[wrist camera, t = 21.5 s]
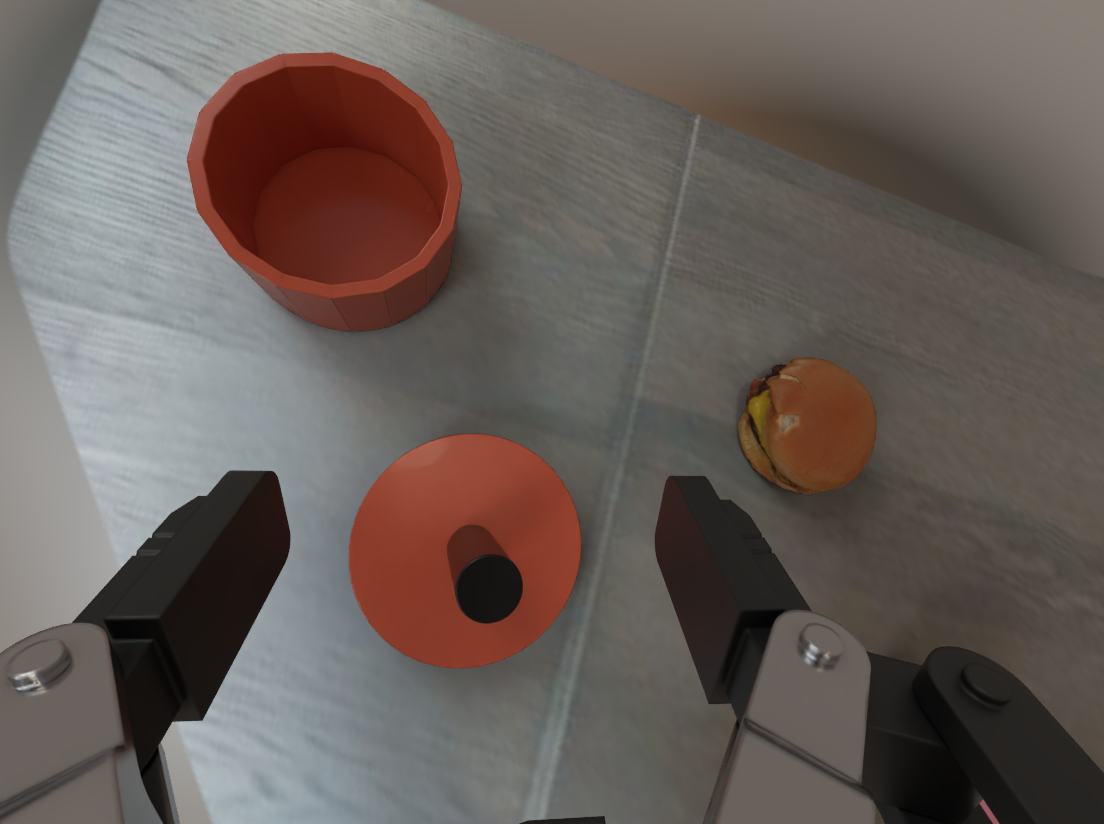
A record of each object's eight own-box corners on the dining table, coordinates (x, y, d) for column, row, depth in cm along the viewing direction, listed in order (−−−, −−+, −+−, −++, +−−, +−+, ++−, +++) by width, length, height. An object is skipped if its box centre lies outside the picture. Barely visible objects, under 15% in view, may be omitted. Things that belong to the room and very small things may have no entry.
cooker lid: (439, 709, 30) (446, 838, 20) (302, 523, 29) (237, 560, 19) (615, 564, 33) (696, 612, 23) (497, 392, 32) (529, 365, 22)
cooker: (323, 369, 31) (292, 344, 24) (200, 196, 30) (129, 117, 23) (488, 269, 34) (505, 221, 27) (381, 110, 33) (369, 15, 26)
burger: (856, 466, 40) (910, 467, 36) (760, 508, 38) (805, 516, 33) (815, 347, 40) (864, 334, 36) (717, 383, 38) (756, 374, 33)
